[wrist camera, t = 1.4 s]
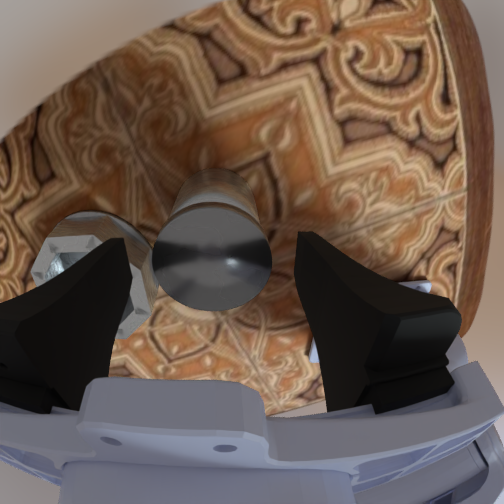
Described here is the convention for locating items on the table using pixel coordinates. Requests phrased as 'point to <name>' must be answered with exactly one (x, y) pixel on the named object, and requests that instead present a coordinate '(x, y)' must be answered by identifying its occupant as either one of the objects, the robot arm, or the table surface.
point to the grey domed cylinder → (213, 244)
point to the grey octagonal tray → (88, 238)
